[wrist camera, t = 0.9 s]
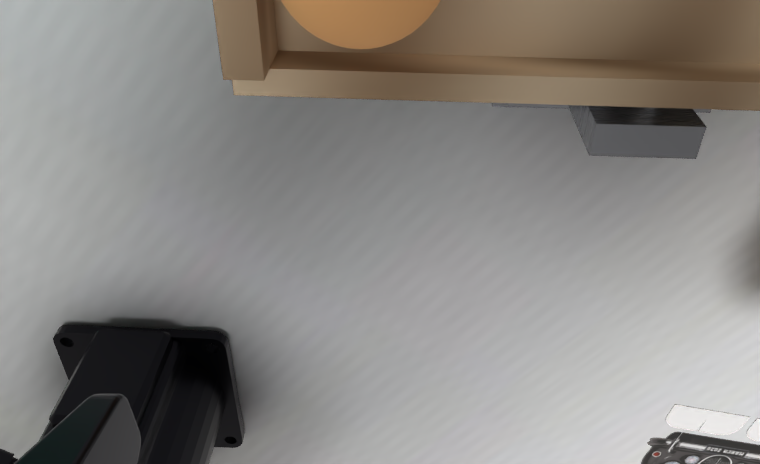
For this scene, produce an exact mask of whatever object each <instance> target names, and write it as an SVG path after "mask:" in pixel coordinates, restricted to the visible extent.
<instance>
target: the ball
mask: <svg viewBox="0 0 760 464" xmlns="http://www.w3.org/2000/svg"><path fill="white" fill-rule="evenodd" d="M281 1H282V3H283V5H284V6H285V7H286V9H287V10H288V12H289V13H290V14H291V16H292V17H293V18H294V19H295V20H296V21H297V22H298V23H299V24H300V25H301V26H302V27H303V28H305V29H306V30H307V31H308V32H310V33H311V34H313V35H314V36H316V37H317V38H319V39H321V40H323V41H325V42H328V43H330V44H333V45H336V46H340V47H344V48H350V49H372V48H378V47H382V46H386V45H389V44H392V43H394V42H397V41H399V40H401V39H403V38H405V37H406V36H408V35H410V34H411V33H413V32H414V31H415V30H416V29H418V28H419V27H420V26H421V25H422V24H423V23H424V22H425V21H426V20H427V19H428V18H429V17H430V15H431V14H432V13H433V11H434V10H435V9H436V7H437V6H438V4H439V2H440V0H281Z"/></svg>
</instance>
